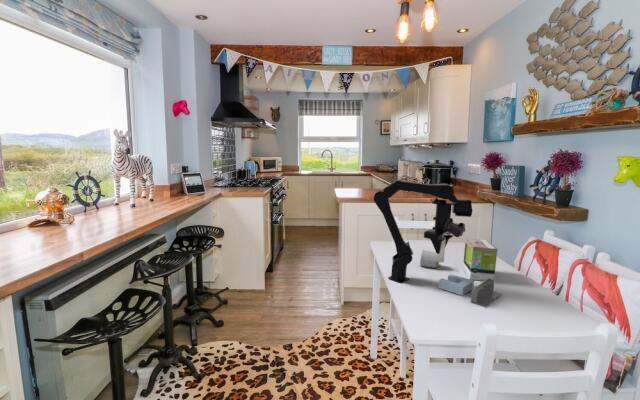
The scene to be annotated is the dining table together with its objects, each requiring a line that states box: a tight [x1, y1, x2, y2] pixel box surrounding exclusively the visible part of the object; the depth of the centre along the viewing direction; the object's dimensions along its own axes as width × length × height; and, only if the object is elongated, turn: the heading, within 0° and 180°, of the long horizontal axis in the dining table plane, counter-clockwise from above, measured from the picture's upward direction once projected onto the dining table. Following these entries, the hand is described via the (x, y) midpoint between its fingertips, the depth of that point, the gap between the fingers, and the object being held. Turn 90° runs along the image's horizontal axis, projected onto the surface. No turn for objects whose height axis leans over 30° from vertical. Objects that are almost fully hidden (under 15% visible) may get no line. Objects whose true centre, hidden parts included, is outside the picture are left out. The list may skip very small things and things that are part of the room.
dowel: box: [435, 237, 446, 263], centre depth 140 cm, size 3×3×10 cm
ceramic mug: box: [419, 249, 440, 269], centre depth 162 cm, size 11×8×8 cm
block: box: [438, 273, 475, 296], centre depth 136 cm, size 10×10×3 cm
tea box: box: [462, 238, 498, 282], centre depth 151 cm, size 15×10×15 cm, turn 168°
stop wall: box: [470, 279, 503, 308], centre depth 127 cm, size 16×5×5 cm, turn 134°
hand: (440, 252), depth 140 cm, fingers closed on dowel, 3 cm apart
